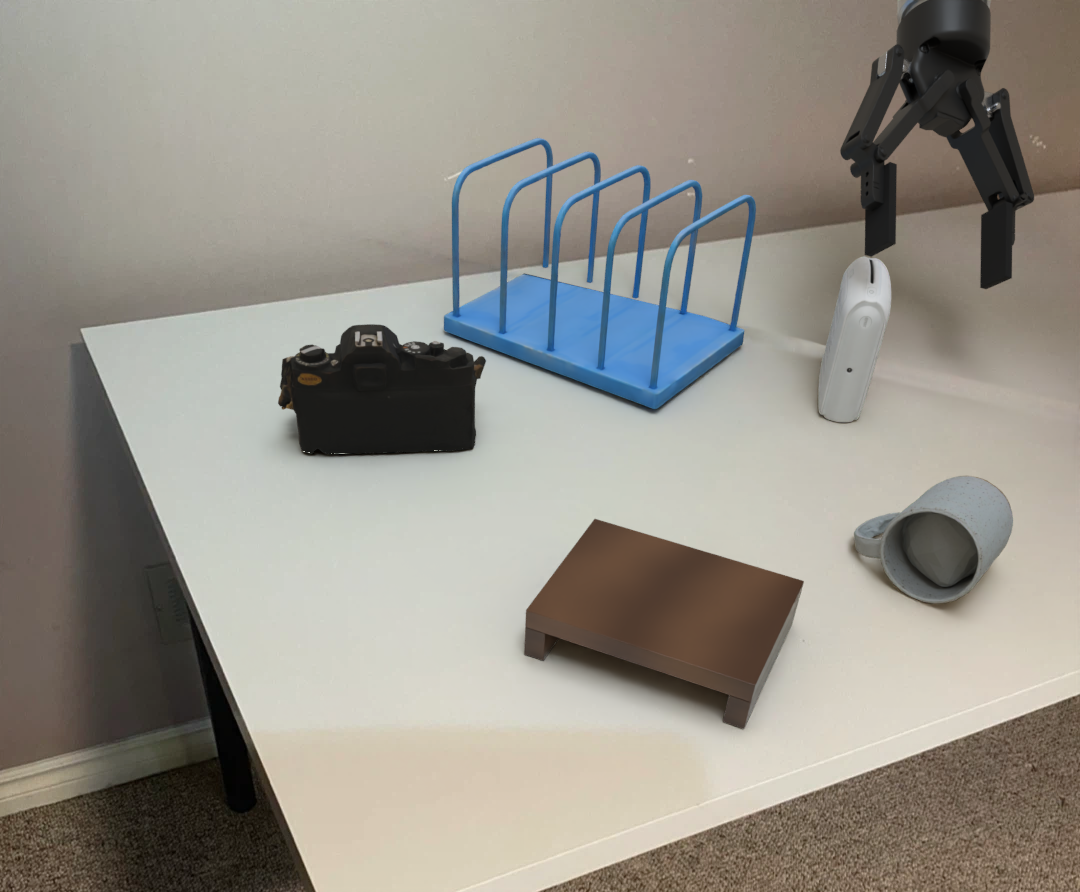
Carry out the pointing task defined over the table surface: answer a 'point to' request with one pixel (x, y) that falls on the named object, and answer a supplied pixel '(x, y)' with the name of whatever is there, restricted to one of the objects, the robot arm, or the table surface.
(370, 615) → the table surface
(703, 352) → the file sorter
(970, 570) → the ceramic mug
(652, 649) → the shelf
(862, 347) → the photo printer
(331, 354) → the film camera
